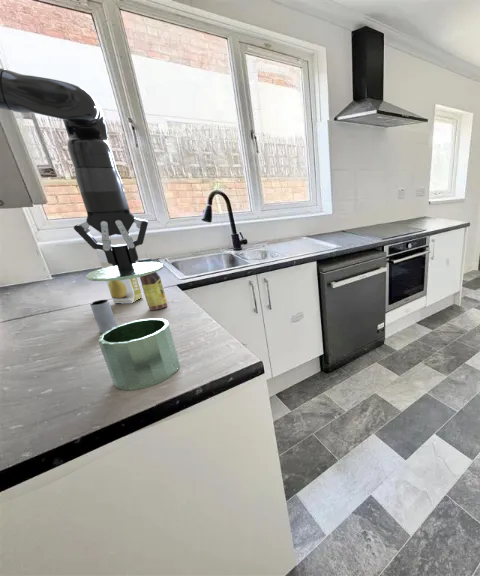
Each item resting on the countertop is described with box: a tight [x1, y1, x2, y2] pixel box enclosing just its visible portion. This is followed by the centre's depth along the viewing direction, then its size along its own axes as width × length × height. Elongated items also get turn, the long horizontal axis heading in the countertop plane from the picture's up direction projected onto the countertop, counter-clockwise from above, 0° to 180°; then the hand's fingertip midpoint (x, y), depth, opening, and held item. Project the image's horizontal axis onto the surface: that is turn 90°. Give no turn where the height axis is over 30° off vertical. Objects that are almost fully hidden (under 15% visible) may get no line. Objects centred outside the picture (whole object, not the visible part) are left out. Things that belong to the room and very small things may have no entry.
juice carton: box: [96, 244, 144, 304], centre depth 126 cm, size 9×8×24 cm
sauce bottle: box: [137, 257, 168, 311], centre depth 119 cm, size 7×6×20 cm
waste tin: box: [97, 317, 181, 391], centre depth 78 cm, size 14×14×12 cm
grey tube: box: [89, 299, 118, 334], centre depth 102 cm, size 4×4×10 cm
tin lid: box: [85, 243, 164, 282], centre depth 74 cm, size 15×15×7 cm
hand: (124, 263), depth 75 cm, fingers closed on tin lid, 3 cm apart
